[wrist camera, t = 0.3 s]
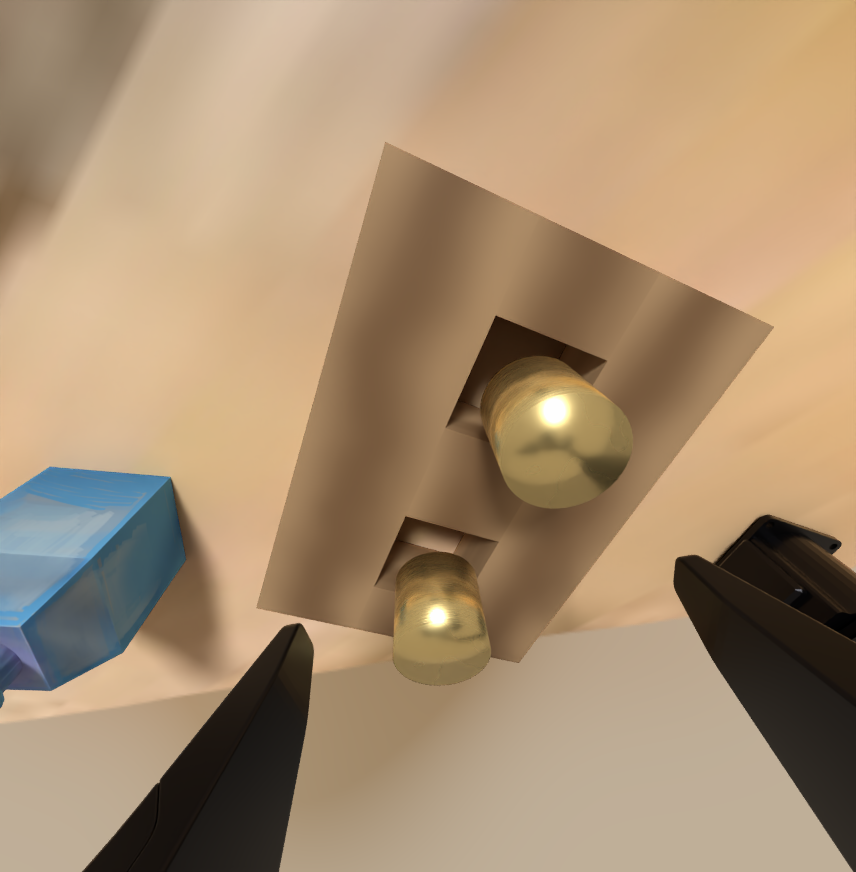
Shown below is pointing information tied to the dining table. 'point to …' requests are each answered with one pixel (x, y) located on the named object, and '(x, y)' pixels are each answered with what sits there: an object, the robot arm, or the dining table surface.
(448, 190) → the socket board
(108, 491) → the perfume bottle
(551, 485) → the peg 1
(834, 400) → the dining table surface
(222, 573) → the dining table surface
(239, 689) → the robot arm
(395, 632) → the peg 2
